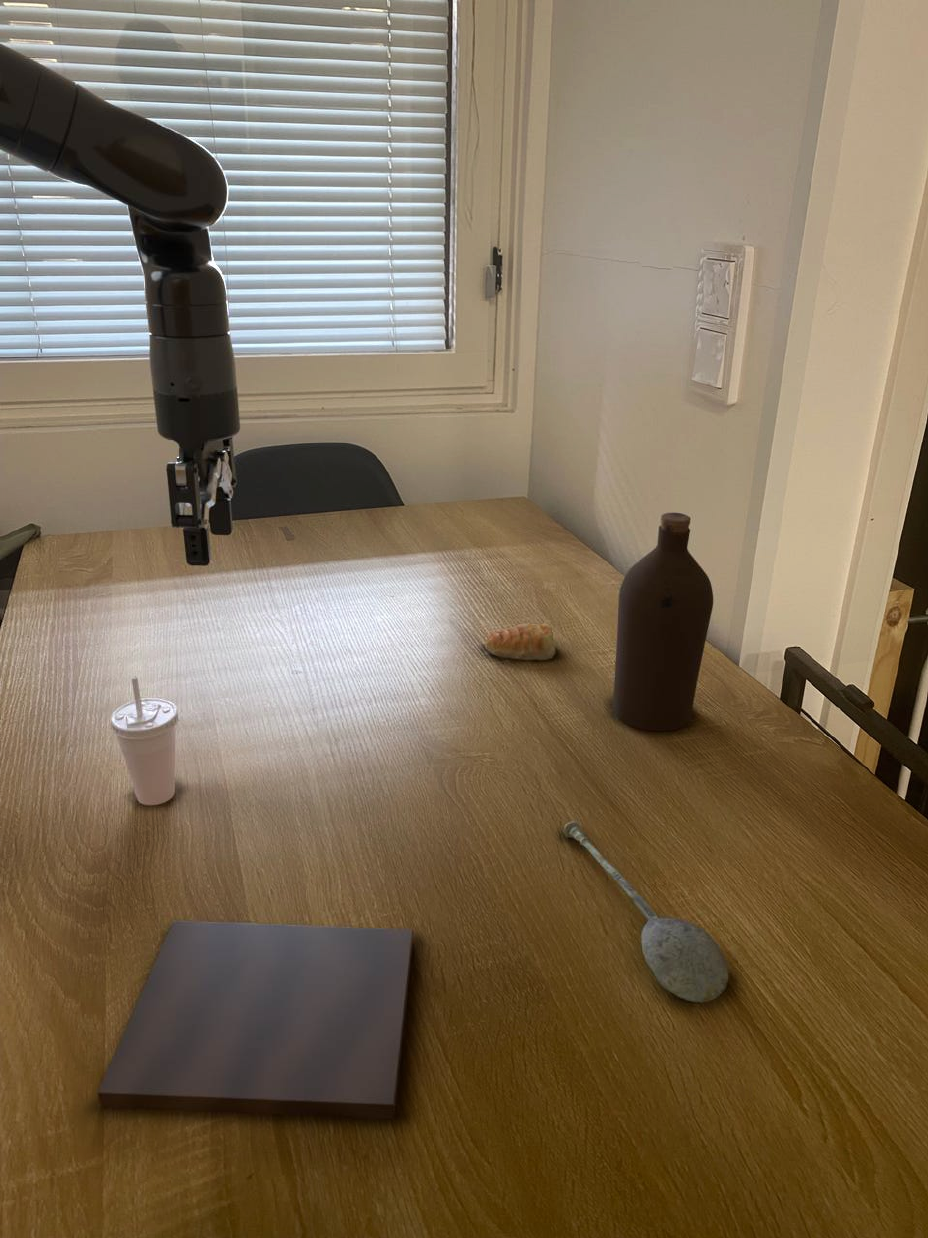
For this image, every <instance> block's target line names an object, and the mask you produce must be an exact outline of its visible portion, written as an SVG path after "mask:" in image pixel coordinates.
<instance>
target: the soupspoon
mask: <svg viewBox="0 0 928 1238" xmlns="http://www.w3.org/2000/svg"><path fill="white" fill-rule="evenodd" d="M562 829H563V830H562V832H563V834H564V836H565V837H566V838H569V839H574V840H575V841H577V842H578V843H580V846H582V847H584V848H585V849H586V850H587V851H588V853H590V855H591V856H592V857H593V858H594V859H595V860H596V862H597V863H599V865H600V866H601V867H602V868H603V870H605V871H606V873H608V875H609V876H610V877H611V878H612V879H613V880H614V881H615V882H616V883H617V884H618V886H619V887H620V888H621V889H622V890H623V892H625V894H626V895H627V896H628V897H629V899H630V900H631V901H632V903H633V904H634V905H635V906H636V908H637V909H638V910H639V911H640V912H641V914H642V915H643V916H644V918H645V919H646V920H647V922H646V924H645V925H644V926H643V928H642V931H641V933H640V938H641V939H640V940H641V944H640V945H641V950H642V955H643V957H644V960H645V962H646V964H647V965H648V967H649V969H650V970H651V971H652V973H653V974H654V976H655V978H656V980H658V982H659V984H661V986H662V987H663V988H664V989H666V991H668V992H670V993H672V994H673V995H675V996H676V997H677V998H680V999H683V1000H685V1001H687V1002H692V1003H702V1004H704V1003H709V1002H711V1001H713V1000H716V999H717V998H719V996H721V995H722V993H724V991H725V990H726V988H727V986H728V983H729V967H728V963H727V960H726V957H725V955H724V953H723V951H722V950H721V948H720V946H719V944H718V943H717V942H716V941H715V939H714V938H713V937H712V936H711V935H710V934H709V933H708V932H706V931H705V930H704V929H703V928H702V927H700V926H698V925H696V924H695V923H693V922H691V921H688V920H685V919H682V918H678V917H671V916H668V917H667V916H659V915H658V914H657V913H656V912H655V911H654V910H653V908H652V907H651V906H650V905H649V903H648V902H647V901H646V900H645V899H644V898H643V897H642V895H640V893H638V891H637V890H636V889H635V888H634V887H633V885H631V883H629V882H628V880H627V879H626V878H625V877H624V876H623V875H622V874H621V873H620V872H619V871H618V870H617V869H616V868H615V867H614V866H613V865H612V864H611V863H610V862H609V861H608V860H607V859H606V858H605V856H603V855H602V854H601V853H600V852H599V851H598V850H597V849H596V847H595V846H593V845H592V844H591V840H590V839H589V838H588V837H586V836H585V834H584V833H583V831H581V826H580V824H579V822H578V821H575V820H574V821H573V820H572V821H570V822H568V823H566V824H565V825H564V827H563V828H562Z"/></svg>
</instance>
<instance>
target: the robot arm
mask: <svg viewBox="0 0 928 1238" xmlns="http://www.w3.org/2000/svg"><path fill="white" fill-rule="evenodd" d="M0 151H2V152H4V153H5V154H8V155H10V156H13V157H14V158H16V159H18V160H21V161H23V162H24V163H26V164H29V165H31V166H32V167H35V168H37V169H39V170H42V171H43V172H46V173H48V174H50V175H52V176H54V177H56V178H59V179H62V180H64V181H67V182H70V183H73V184H75V185H79V186H85V187H88V188H92V189H94V190H96V191H98V192H101V193H102V194H103V195H106V196H108V197H110V198H112V199H114V200H116V201H118V202H120V203H122V204H124V205H126V206H127V207H126V208H127V212H128V217H129V223H130V226H131V231H132V235H133V239H134V244H135V248H136V252H137V255H138V256H137V257H138V259H139V262H140V263H139V264H140V266H141V271H142V275H143V284H144V285H143V286H144V301H145V311H146V319H147V325H148V326H147V327H148V333H149V334H148V338H149V352H148V353H149V356H148V357H149V368H150V378H151V386H152V394H153V403H154V412H155V420H156V421H155V422H156V429H157V433H158V435H159V436H161V438H163V439H166V440H167V441H173V442H175V443H176V444H177V445H178V447H179V448H178V456H177V457H176V460H175V461H176V462H167V464H166V468H165V470H166V477H167V488H168V501H169V510H170V520H171V521H170V522H171V523H170V524H171V526H172V528H173V529H182V534H183V544H184V553H185V560H186V563H187V564H188V566H198V567H200V566H201V567H202V566H203V567H205V566H208V565H209V564H210V563H211V562H212V553H211V542H210V533H211V534H212V535H214V536H230V535H231V534H232V533H233V531H234V524H233V510H232V501H231V499H232V498H233V495H234V490H233V488H237V487H236V486H237V485H238V479H237V472H236V463H235V462H236V461H235V451H234V442H233V437H236V436H237V434H239V432H240V430H241V420H240V408H239V407H240V406H239V395H238V394H239V393H238V384H237V383H238V382H237V370H236V360H235V354H234V353H235V352H234V348H233V344H232V339H231V333H230V319H229V306H228V305H229V304H228V296H227V295H228V293H227V286H226V282H225V278H224V275H223V274H222V271H221V270H220V268H219V267H218V266H217V265H216V263H215V261H214V256H213V252H212V251H213V250H212V244H211V238H210V230H209V228H210V227H212V226H213V225H215V224H216V223H217V222H218V221H219V220H220V219H221V217H222V216H223V214H224V213H225V210H226V208H227V204H228V199H229V187H228V181H227V178H226V175H225V172H224V170H223V168H222V166H221V165H220V163H219V162H218V160H217V159H216V158H215V156H214V155H212V153H211V152H210V151H209V150H208V149H206V148H205V147H204V146H202V145H201V144H199V143H198V142H196V141H195V140H193V139H191V138H189V137H187V136H186V135H183V134H182V133H179V132H178V131H175V130H174V129H171V128H169V127H167V126H165V125H163V124H160V123H159V122H156V121H153V120H151V119H149V118H146V117H144V116H142V115H139V114H137V113H135V112H132V111H130V110H127V109H125V108H122V107H119V106H118V105H115V104H112V103H110V102H108V101H107V100H105V99H103V98H101V97H100V96H98V95H96V94H95V93H94V92H92V91H90V90H88V89H87V88H86V87H84V86H82V85H80V84H79V83H76V82H75V81H73V80H71V79H69V78H67V77H66V76H64V75H62V74H61V73H58V72H57V71H55V70H53V69H51V68H49V67H48V66H45V65H44V64H42V63H40V62H39V61H37V60H34V59H33V58H31V57H29V56H27V55H25V54H23V53H21V52H19V51H17V50H15V49H13V48H11V47H9V46H7V45H5V44H2V43H0ZM190 507H191V512H192V514H189V509H190ZM208 525H209V526H208Z"/></svg>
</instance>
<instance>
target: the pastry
mask: <svg viewBox="0 0 928 1238" xmlns="http://www.w3.org/2000/svg"><path fill="white" fill-rule="evenodd" d="M484 648H485V649H486V650H487V652H489V653H490V654H492V655H494V656H496V657H497V658H505V659H512V660H522V661H534V660H537V661H546V660H550V659H553V657H554V656H555V654H556V645H555V640H554V633H553V628H552V625H551V624H548V623H547V622H543V623H541V624H535V623H522V622H521V623H519V624H516V625H515V626H511V627H509V628H502V629H500V630H498V631H495V632H492V633H490V634H489V635H488V636H487V638H486V640H485V643H484Z"/></svg>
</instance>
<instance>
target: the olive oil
mask: <svg viewBox="0 0 928 1238" xmlns="http://www.w3.org/2000/svg"><path fill="white" fill-rule="evenodd" d="M690 524H691V517H690V516H689V515H687V514H685V513H680V512H666V513H663V514H661V517H660V525H659V527H658V531H657V532H658V533H657V544H656V547H655V548H653V549H652V550H651V551H650V552H648V553H647V554H646V555H644V557H642V558H641V559H640V560H638V561H637V562H636V563H634V564H633V565H632V566H631V567H630V568H629V569H628V570H627V572H626V573H625V576H624V577H623V580H622V582H621V584H620V586H619V587H620V588H619V592H618V601H617V602H618V604H617V625H616V645H615V646H616V647H615V649H616V650H615V663H614V682H613V695H612V711H613V713H614V715H615V716H616V717H617V718H618V719H619V720H620V721H621V722H622V723H624V724H626V725H628V726H630V727H633V728H635V729H638V730H642V731H646V732H653V733H665V732H672V731H673V732H674V731H676V730H679V729H681V728H683V727H685V726H686V725H687V724H688V723H689V722H690V720H691V718H692V712H693V707H694V701H695V697H696V690H697V684H698V679H699V675H700V671H701V670H700V669H701V664H702V660H703V655H704V650H705V646H706V641H707V636H708V631H709V626H710V622H711V617H712V612H713V609H714V591H713V587H712V582H711V580H710V578H709V576H708V574H707V573H706V572H705V570H704V569H703V568H702V566H701V565H700V564H699V563H698V561H696V559H695V558H694V557H693V556H692V554H691V553H690V551H689V549H688V546H689V540H690V532H691V529H690Z"/></svg>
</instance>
